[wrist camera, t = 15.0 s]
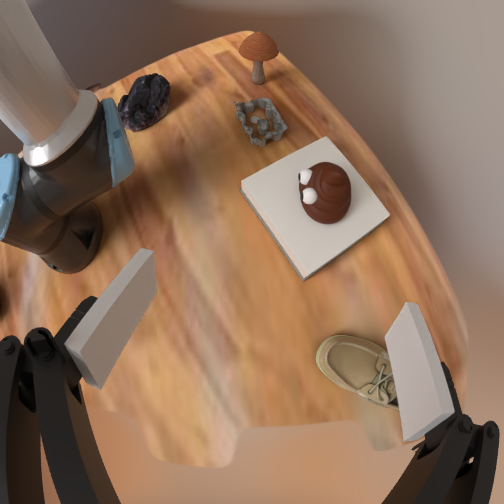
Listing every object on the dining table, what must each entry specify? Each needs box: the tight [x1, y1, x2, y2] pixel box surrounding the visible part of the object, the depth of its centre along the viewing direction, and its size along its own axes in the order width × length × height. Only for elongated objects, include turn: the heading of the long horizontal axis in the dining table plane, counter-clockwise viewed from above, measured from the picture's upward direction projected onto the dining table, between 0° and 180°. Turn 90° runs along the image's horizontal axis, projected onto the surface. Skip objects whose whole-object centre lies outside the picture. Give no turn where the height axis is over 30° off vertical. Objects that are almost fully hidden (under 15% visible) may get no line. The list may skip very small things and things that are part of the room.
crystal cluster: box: [117, 73, 170, 132], centre depth 47 cm, size 13×14×10 cm
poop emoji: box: [298, 162, 351, 224], centre depth 38 cm, size 10×8×9 cm
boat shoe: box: [316, 335, 400, 412], centre depth 36 cm, size 25×9×8 cm, turn 56°
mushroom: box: [239, 32, 279, 85], centre depth 46 cm, size 8×8×15 cm
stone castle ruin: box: [234, 98, 288, 147], centre depth 48 cm, size 11×8×4 cm
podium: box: [240, 136, 390, 281], centre depth 44 cm, size 19×19×4 cm
